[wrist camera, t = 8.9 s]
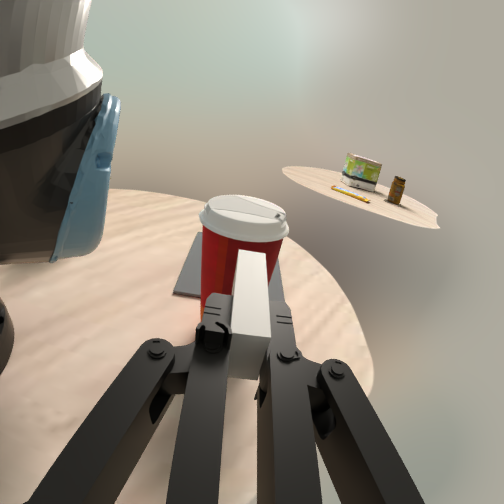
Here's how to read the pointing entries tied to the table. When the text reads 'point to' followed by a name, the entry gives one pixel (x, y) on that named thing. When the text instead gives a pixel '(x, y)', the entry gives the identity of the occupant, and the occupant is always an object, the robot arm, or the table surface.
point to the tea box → (360, 172)
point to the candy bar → (349, 193)
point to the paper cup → (237, 238)
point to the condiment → (396, 191)
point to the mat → (192, 275)
